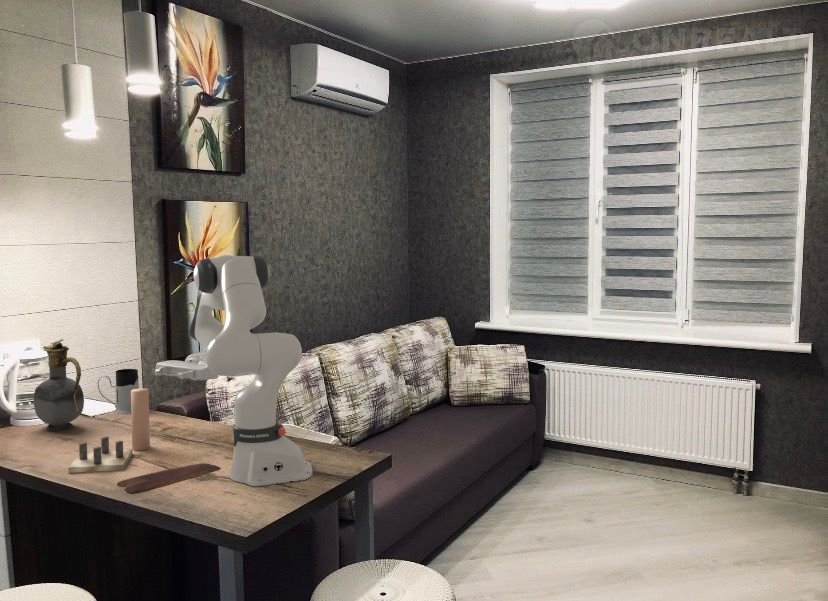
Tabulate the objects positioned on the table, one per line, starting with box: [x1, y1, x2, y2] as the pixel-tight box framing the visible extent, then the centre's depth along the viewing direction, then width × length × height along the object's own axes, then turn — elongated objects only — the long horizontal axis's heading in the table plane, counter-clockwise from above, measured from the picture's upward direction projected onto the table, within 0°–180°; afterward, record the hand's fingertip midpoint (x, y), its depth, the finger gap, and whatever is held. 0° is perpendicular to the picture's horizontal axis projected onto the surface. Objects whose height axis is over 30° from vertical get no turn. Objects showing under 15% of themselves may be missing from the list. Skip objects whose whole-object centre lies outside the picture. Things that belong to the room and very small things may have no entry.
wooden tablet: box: [116, 462, 221, 494], centre depth 187 cm, size 26×2×10 cm
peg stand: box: [68, 436, 133, 474], centre depth 196 cm, size 14×14×6 cm
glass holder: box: [96, 368, 140, 415], centre depth 250 cm, size 9×14×15 cm, turn 119°
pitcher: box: [33, 338, 85, 432], centre depth 228 cm, size 11×19×30 cm, turn 61°
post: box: [130, 387, 151, 451], centre depth 210 cm, size 5×5×18 cm
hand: (168, 374), depth 220 cm, fingers open, 8 cm apart
